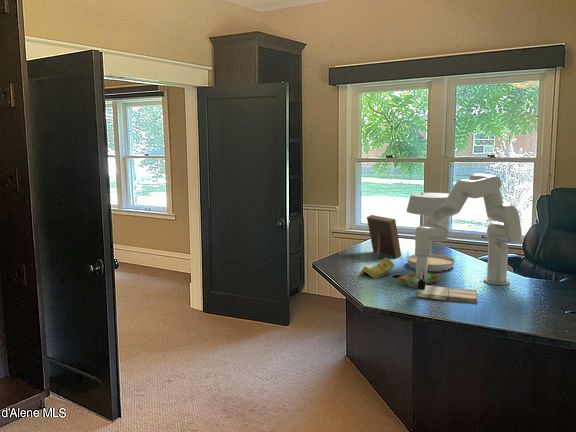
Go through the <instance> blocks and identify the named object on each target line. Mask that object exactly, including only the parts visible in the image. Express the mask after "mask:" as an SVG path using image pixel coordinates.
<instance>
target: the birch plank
mask: <svg viewBox="0 0 576 432" xmlns="http://www.w3.org/2000/svg"><path fill="white" fill-rule="evenodd" d="M449 288H450V287H445V286H435V285H429V284H427V285H425V290H422V289H418V288H417V291H416V297H418V298H425V299H433V300H443V301H448V294H449Z"/></svg>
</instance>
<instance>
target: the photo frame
mask: <svg viewBox="0 0 576 432" xmlns="http://www.w3.org/2000/svg"><path fill="white" fill-rule="evenodd" d="M366 220H367V225H368V231H369V236H370V241H371V247H372V251H373V253H376V258H377V259H379V258H380V255H383V256H387V257H391V258H394V259H399V258H400V257H402V251H401V244H400V240H399V234H398V229H397V223H396V221H397V220H396V219H395V218H390V217H384V216H379V215H375V214H374V215H373V214H371V215H368V216H367V217H366Z"/></svg>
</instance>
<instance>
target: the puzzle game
mask: <svg viewBox="0 0 576 432" xmlns="http://www.w3.org/2000/svg"><path fill="white" fill-rule="evenodd" d="M440 277H441V276H440V274H439V273H438V274H437V273H433V272H430V271H427V274H426V276H425V285H429V284H433V283H434V282H435V281H436V280H437V279H440ZM397 280H398V282H399V283H400V285H402V286H403V285H404V286H407V287H411V288H413V289H414V288H415V289H418V281H419V274H418V276H416V271H415V272H413V273H407V274H403V275H400V276H398V277H397Z"/></svg>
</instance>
